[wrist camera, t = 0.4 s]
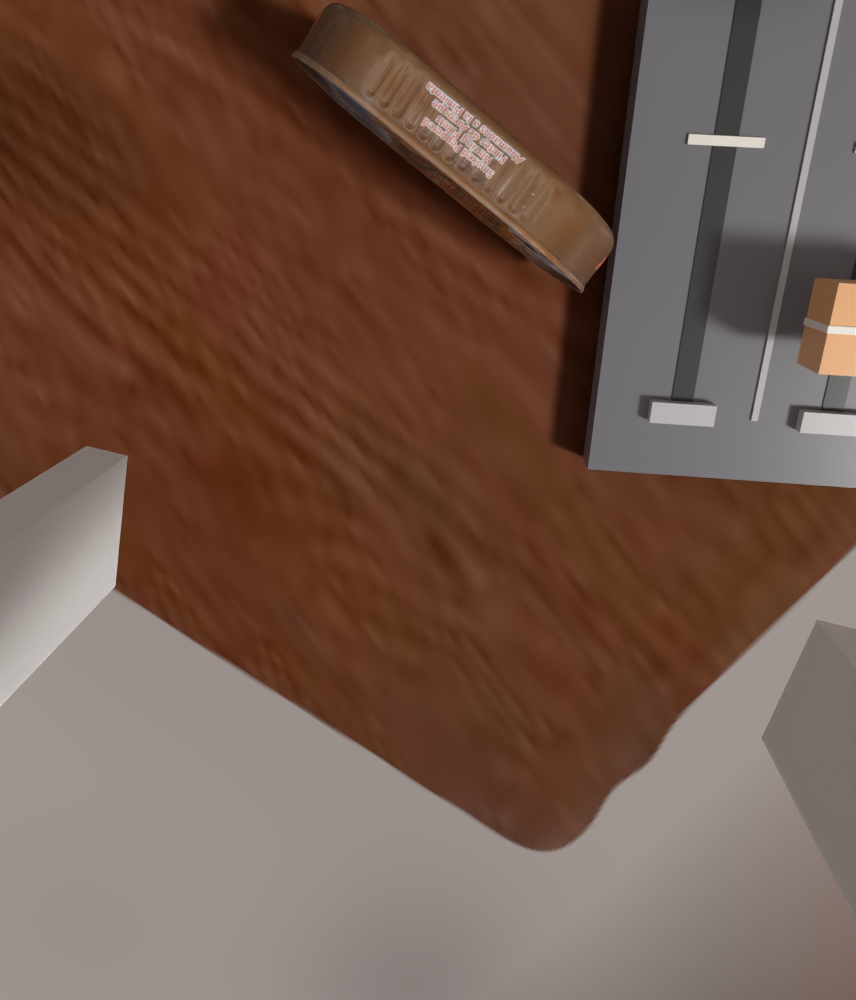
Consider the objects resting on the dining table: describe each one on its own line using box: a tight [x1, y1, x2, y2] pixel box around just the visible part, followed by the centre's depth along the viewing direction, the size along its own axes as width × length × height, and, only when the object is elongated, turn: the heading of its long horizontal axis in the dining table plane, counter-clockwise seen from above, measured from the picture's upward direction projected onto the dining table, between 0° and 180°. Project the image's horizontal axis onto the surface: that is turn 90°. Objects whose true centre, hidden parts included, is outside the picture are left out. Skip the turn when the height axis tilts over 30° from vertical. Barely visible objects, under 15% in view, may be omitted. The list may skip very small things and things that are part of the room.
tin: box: [291, 3, 614, 293], centre depth 33 cm, size 15×3×8 cm, turn 53°
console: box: [583, 0, 856, 488], centre depth 34 cm, size 30×15×3 cm, turn 177°
